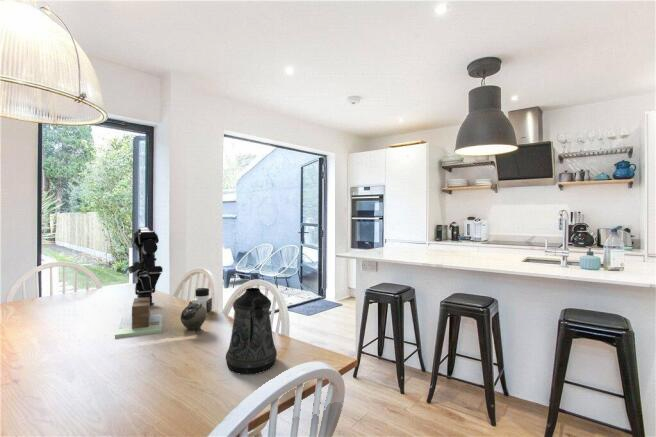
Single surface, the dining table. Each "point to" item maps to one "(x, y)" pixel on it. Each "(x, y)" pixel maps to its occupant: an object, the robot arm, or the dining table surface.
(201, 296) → the medicine bottle
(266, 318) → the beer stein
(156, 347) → the dining table surface
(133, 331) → the trap board
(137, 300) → the walnut box
